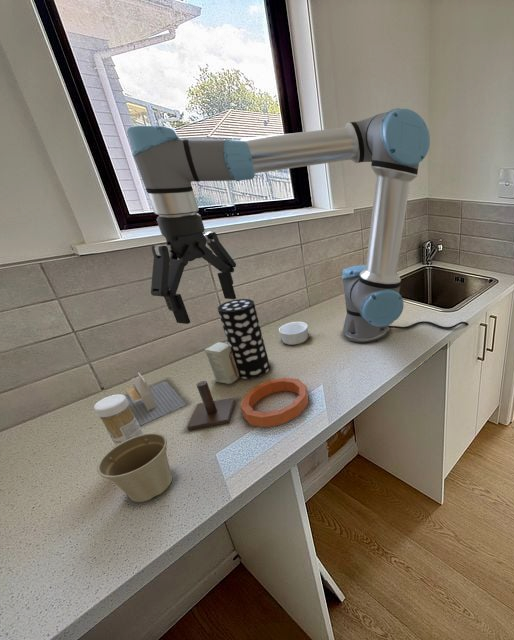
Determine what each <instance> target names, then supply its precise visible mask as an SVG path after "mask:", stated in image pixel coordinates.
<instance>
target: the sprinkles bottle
mask: <svg viewBox="0 0 514 640" xmlns="http://www.w3.org/2000/svg"><path fill="white" fill-rule="evenodd" d="M126 397H127V396H126V395H124V394H121V393H118V394H117V393H116V394H113V395H108V396H106V397H104V398H102V399H100V400H98V401H97V402H96V403H95V404H94V406H93V410H94V412H95V414H96V415H97V416H98V417H99V418H100V420H101V421H102V423H103V426H104V427H105V428H106V431H107V433H108V434H109V436H110V438H111V440H112V442H113V445H114V447H115V446H117V445H118V444H120V443H122V442H124V441H126V440H128V439H130V438H133V437H136V436H138V435H142V434H144V432H143V430H142V428H141V426H139V424H138V422H137V420H136V418H135V416H134V415H133V413H132V411H131V409H130V407H129V402H128V400H127V399H126Z"/></svg>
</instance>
